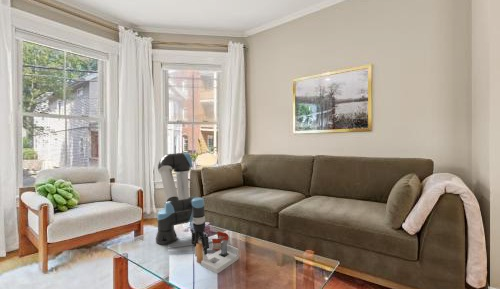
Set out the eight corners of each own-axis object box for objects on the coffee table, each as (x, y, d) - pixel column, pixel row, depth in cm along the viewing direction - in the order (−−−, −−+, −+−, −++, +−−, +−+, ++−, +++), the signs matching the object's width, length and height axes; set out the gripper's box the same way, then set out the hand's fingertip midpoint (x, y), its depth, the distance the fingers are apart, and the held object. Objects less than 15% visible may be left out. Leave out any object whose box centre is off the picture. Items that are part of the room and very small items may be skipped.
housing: (201, 265, 166) (201, 255, 165) (223, 252, 182) (223, 242, 181) (217, 273, 157) (217, 262, 156) (238, 258, 173) (238, 248, 172)
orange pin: (195, 261, 170) (194, 243, 169) (200, 258, 174) (199, 241, 172) (199, 263, 168) (199, 245, 167) (204, 260, 171) (203, 243, 170)
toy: (226, 251, 182) (225, 240, 181) (211, 250, 184) (211, 239, 183) (230, 243, 194) (230, 232, 193) (217, 241, 196) (217, 231, 195)
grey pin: (219, 258, 173) (219, 241, 172) (223, 256, 176) (223, 239, 175) (224, 260, 171) (224, 243, 169) (228, 258, 174) (228, 241, 172)
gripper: (184, 221, 171) (186, 255, 173) (205, 227, 159) (207, 264, 161) (193, 217, 176) (195, 250, 179) (214, 223, 165) (216, 259, 167)
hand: (201, 257), depth 170 cm, fingers open, 7 cm apart
